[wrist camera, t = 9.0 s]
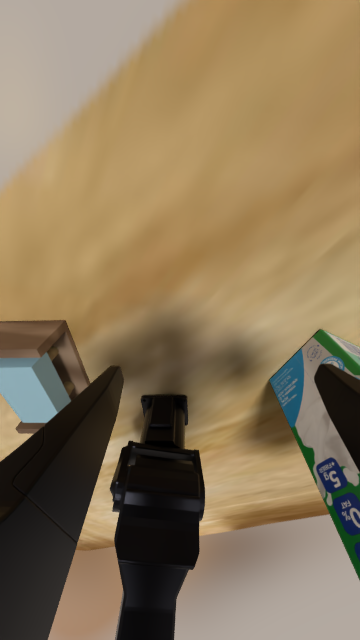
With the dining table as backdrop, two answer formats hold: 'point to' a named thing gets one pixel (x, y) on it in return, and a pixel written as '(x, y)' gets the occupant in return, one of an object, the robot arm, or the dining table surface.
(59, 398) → the block
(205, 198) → the dining table surface
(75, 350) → the cradle
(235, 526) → the dining table surface
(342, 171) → the dining table surface
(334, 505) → the milk carton
